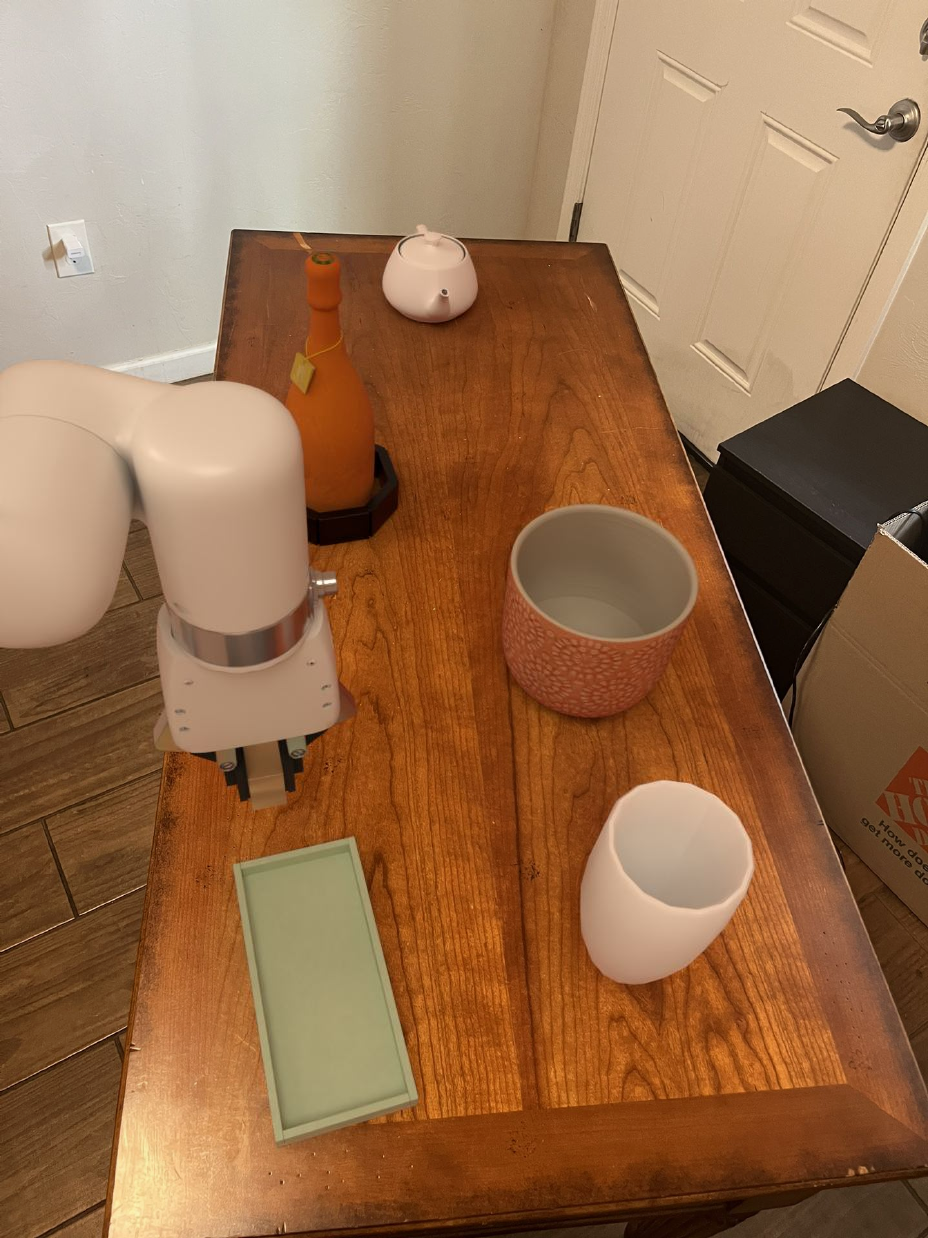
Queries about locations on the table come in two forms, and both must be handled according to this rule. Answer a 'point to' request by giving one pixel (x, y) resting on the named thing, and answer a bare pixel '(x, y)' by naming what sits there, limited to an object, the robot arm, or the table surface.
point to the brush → (265, 775)
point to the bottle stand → (358, 510)
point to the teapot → (430, 277)
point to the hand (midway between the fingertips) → (265, 777)
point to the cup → (662, 880)
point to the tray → (321, 992)
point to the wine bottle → (331, 402)
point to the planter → (595, 607)
